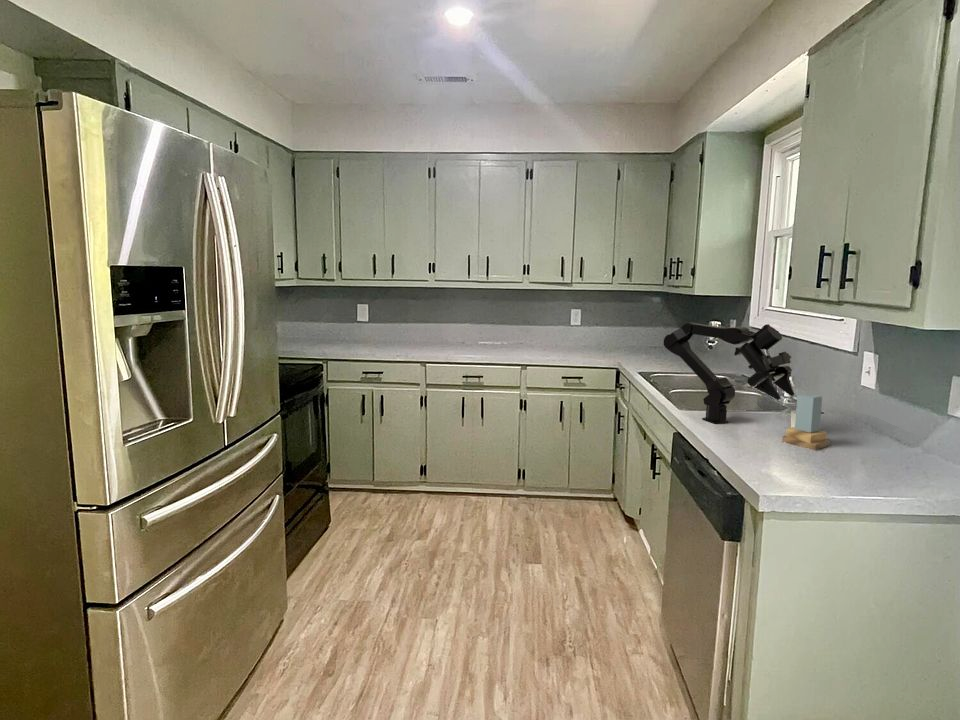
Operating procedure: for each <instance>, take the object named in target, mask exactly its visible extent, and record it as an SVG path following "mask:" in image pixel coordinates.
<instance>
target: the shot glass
mask: <svg viewBox="0 0 960 720" xmlns="http://www.w3.org/2000/svg"><path fill="white" fill-rule="evenodd" d="M790 415H791V416H790V428H792V427H795V420H796V409H793V410H791V411H790Z"/></svg>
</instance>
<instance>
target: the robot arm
mask: <svg viewBox="0 0 960 720" xmlns="http://www.w3.org/2000/svg"><path fill="white" fill-rule="evenodd" d="M694 335H698V336H704V337H710V338H715V339H719V340H722V341H723V342H725V343H728V344H731V345H741V344H742V345H741V346H738V347H735V348H734V349H735V350H734V353H733V354H734V356H740V355H742V356H743V358H744V359H745V360H746V361H747V363H748V364H749V365H748V369H751V370H753V371H754V373H753V374H752V375H751V376H749V377H748V378H747V384H748V385H749V386H750V388H752V387H753V388H754V389H756V390H759V391H760V392H762V393H765V394H766V395H767V396H770V397H772V398H773V399H775V400H777V401H778V400H781V395H780V394H779V391H778V390H777V389H776V388H775V386H777V387H778V388H779V389H781V390H782V391H784V393H786V394H788V395H789V396H791V397H793V396H794V395H795V392H794V389H793V386H792V384H791V380H790V377H791V375H792V371H793V369H792V368H791V367H790V365H786V364H791V363H792V362H791V358H792V355H790V353H788V352H787V351H782V352H779V353H778V355H775V356H773V357H772V356H771V355H769V354H768V355H766V354H765V353H764V351H768V350H769V349H771V348H773V347H774V346H775V345H776V344H778V343H779V342H780V341H783V335H782V334H781V333H780V331H779V330H777V328H774V327H773V326H771V325H770V324H768V323H767V324H764V325H763V326H762V327H761V328H760V329H759V330H758V331H757V332H754V331H751V330H750V329H749V328H748V327H745V326H732V327H722V326H716V325H710V324H704V323H697V322H693V321H692V322H686V323H684V324H683V325H682V326H681V327H679V328H678V329H676V330H674V331H673V332H671V333H670V334H667V335H665V337H664V338H663V347H664V348H665V349H666V350H667V351H669V352H670V353H672V354H673V355H676V356H678V357H679V358H680V359H681V360H683V362H684V363H685V364H686V365H687V367H689V368H690V370H692V371H693V372H694V374H695V375H696V376H697V377H698V378H699V379H700V380H701V382H702V383H704V385H705V387H706V392H707V393H708V395H707V396H705V397H704V398H702V400H703V404H704V405H706V406H705V407H706V409H705V410H706V411H705V417H702V418H701V420H703V421H706V422H708V423H712V424H714V425H715V424H716V425H717V424H724V423H729V420H728V419H727V412H728V411H727V407H728V406H727V405H729V404H730V403H731V402H732V401H731V400H733V399H734V398H735V396H736V389H735V388H734V384H732V383H731V382H730V381H729V379H728V378H727V377H726V376H725V377H721V378H720V377H718V376H717V375H716V374H715V373H714V372H713V371H712V370H711V369H710V368H709V367H708V366H707V365H706V364H705V362H704V361H703V360H702V359H701V358H699V355H697V354H696V353H695V352H694V351H693V349H692V348H691V345H690V342H689V341H690V340H691V339H692V338H693V336H694ZM749 341H750V342H749ZM763 350H764V351H763ZM774 385H775V386H774Z"/></svg>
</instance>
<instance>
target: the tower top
mask: <svg viewBox="0 0 960 720" xmlns="http://www.w3.org/2000/svg"><path fill="white" fill-rule="evenodd" d="M785 435H786V436H787V437H791V438H794V439H798V440H801V441H805V442H808V443H813V442H818V441H822V440H826V438H827V431H824V430H819V431H816V432H812V433H810V432H805V431H800V430H796V429H795V427H792V428H791V427H788V428H786V432H785Z"/></svg>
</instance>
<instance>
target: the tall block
mask: <svg viewBox="0 0 960 720" xmlns="http://www.w3.org/2000/svg"><path fill="white" fill-rule="evenodd" d="M796 396H797V397H796V407H795V410H796V420H795V429H796V430H800V431H805V432H810V433H812V432H816V431H819V430H820V428H821V427H820V426H821V416H822V404H823V396H822V395H816V394H811V393H802V394H798V395H796ZM820 431H821V430H820Z"/></svg>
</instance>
